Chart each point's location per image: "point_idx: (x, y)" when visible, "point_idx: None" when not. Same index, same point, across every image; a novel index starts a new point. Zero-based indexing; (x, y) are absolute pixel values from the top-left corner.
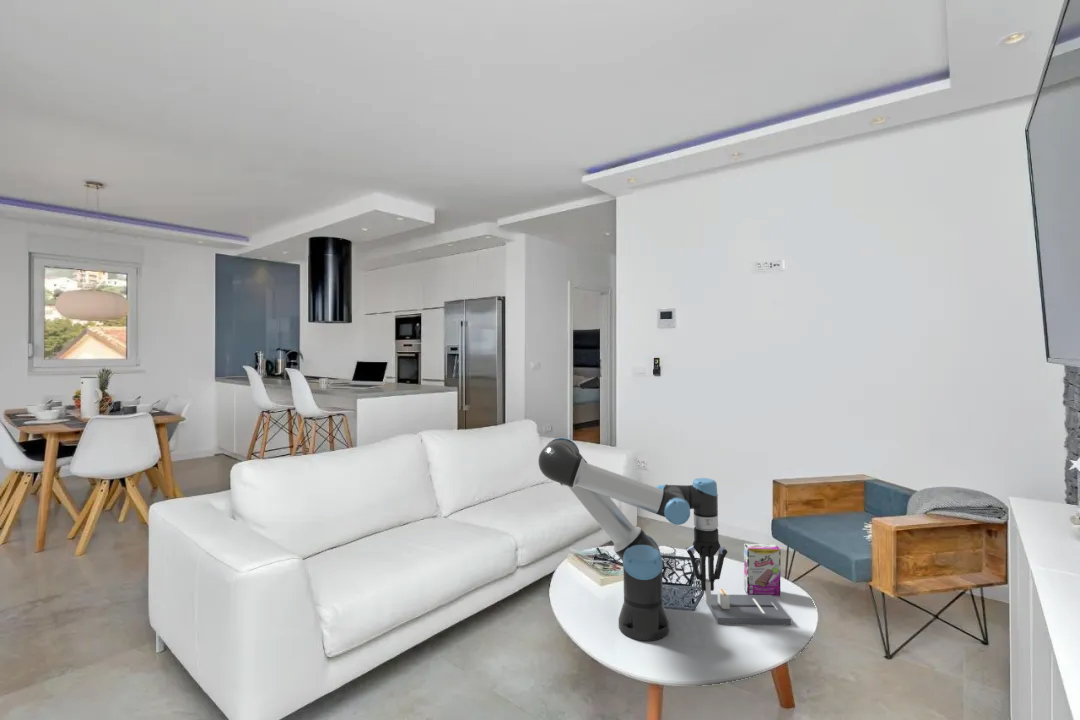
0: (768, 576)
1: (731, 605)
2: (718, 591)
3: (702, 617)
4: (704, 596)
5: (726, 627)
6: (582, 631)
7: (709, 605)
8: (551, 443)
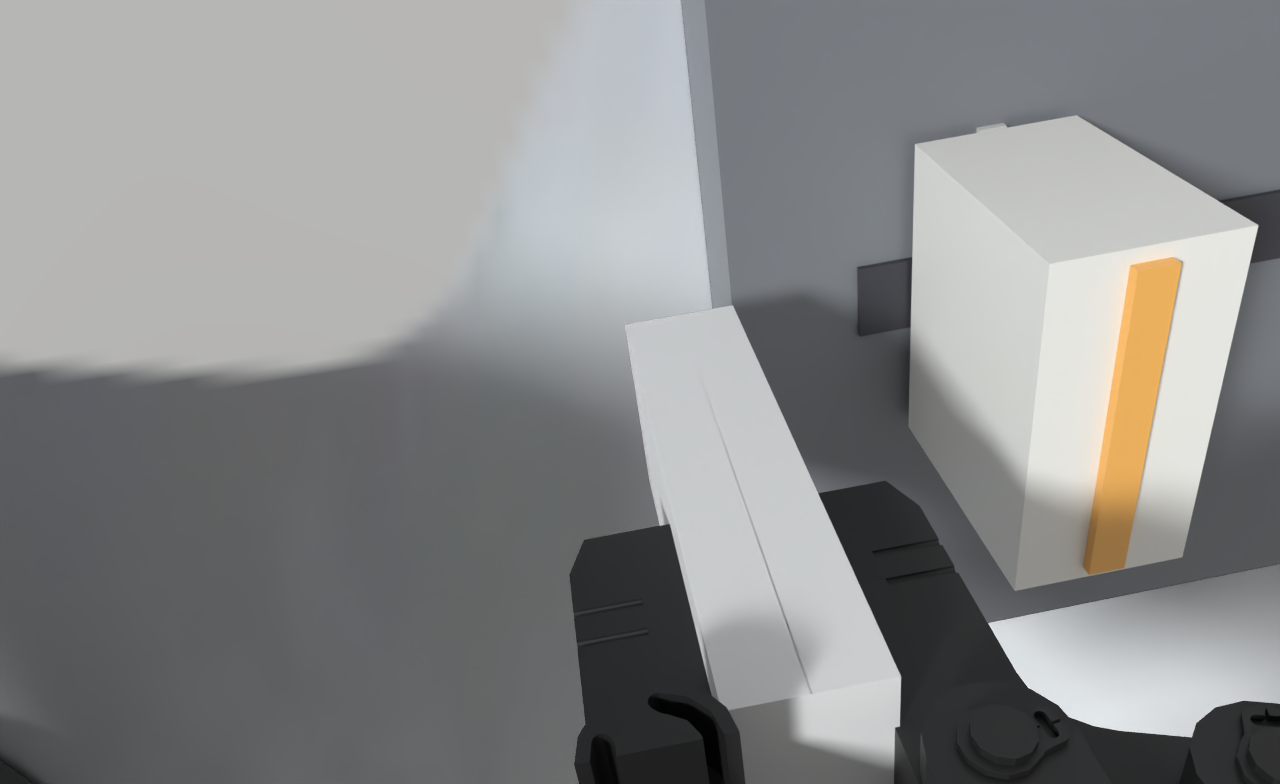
0: None
1: None
2: (1030, 341)
3: (541, 479)
4: (634, 368)
5: None
6: None
7: (710, 187)
8: None
